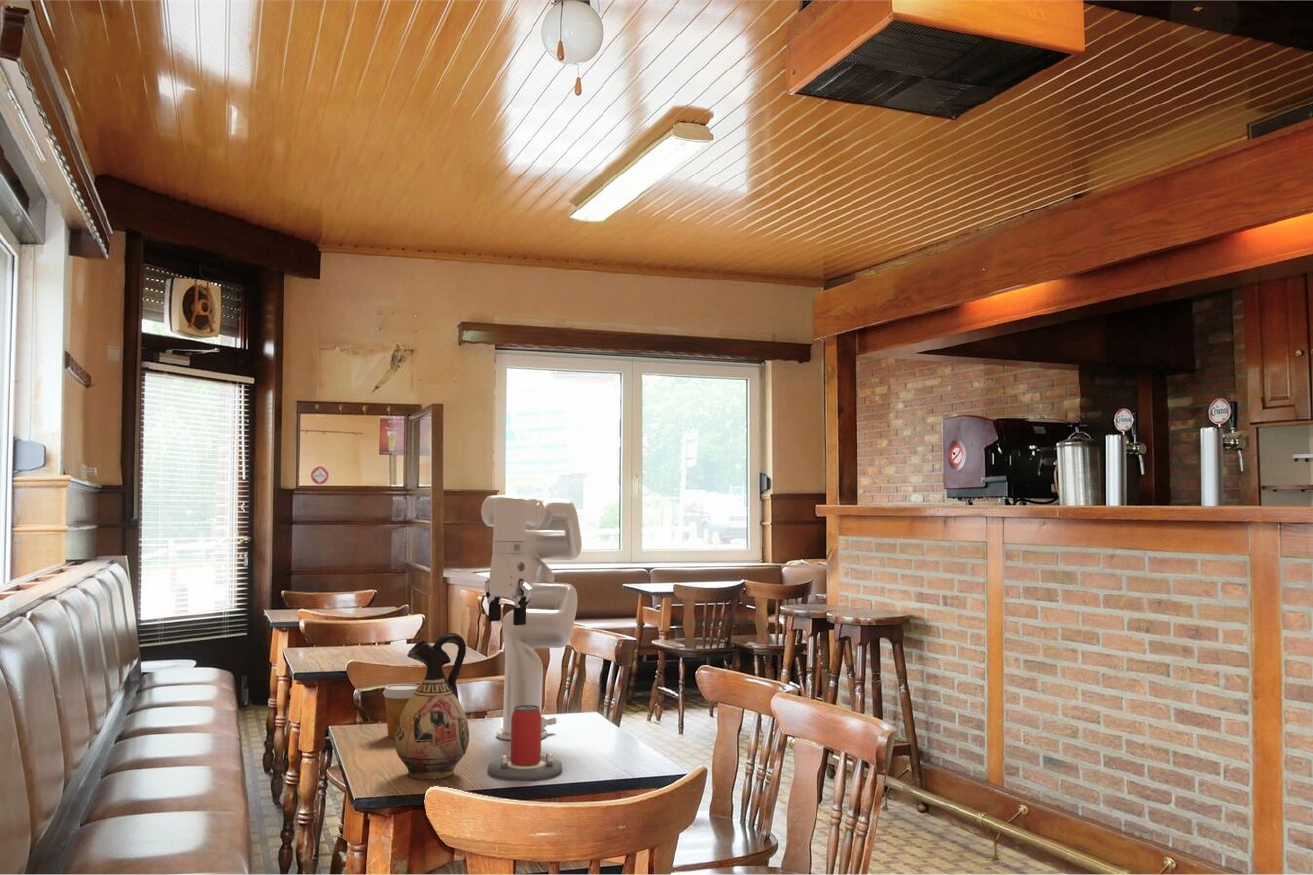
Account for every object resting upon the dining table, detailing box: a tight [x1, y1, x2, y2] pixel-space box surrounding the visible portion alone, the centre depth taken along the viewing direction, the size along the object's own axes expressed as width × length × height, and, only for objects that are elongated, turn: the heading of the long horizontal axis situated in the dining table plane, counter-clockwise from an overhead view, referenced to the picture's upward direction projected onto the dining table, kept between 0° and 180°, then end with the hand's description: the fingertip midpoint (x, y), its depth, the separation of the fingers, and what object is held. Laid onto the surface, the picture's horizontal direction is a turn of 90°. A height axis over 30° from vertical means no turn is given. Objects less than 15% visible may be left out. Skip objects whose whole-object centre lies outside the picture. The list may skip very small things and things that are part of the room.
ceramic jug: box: [394, 632, 470, 780], centre depth 220 cm, size 17×15×30 cm
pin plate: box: [487, 755, 563, 782], centre depth 223 cm, size 16×16×2 cm
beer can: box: [510, 705, 542, 766], centre depth 224 cm, size 7×7×12 cm
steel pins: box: [500, 753, 554, 769], centre depth 222 cm, size 10×11×2 cm
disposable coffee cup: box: [382, 683, 420, 739], centre depth 256 cm, size 10×10×12 cm
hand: (506, 622), depth 239 cm, fingers open, 9 cm apart
